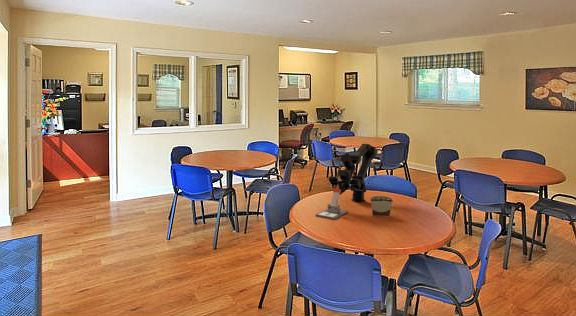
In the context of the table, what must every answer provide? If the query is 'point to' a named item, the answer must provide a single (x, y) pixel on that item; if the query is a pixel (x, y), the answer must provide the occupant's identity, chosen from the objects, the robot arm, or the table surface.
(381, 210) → the food container
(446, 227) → the table surface
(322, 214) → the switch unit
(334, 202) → the lever
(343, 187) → the robot arm
